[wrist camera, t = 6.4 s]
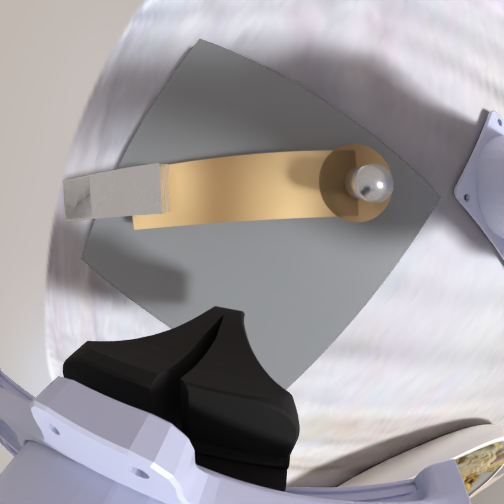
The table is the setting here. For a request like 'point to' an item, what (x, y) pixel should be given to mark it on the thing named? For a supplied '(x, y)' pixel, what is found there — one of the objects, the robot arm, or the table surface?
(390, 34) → the table surface
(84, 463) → the robot arm
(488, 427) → the bowl
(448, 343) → the table surface
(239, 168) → the link
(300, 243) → the base plate
